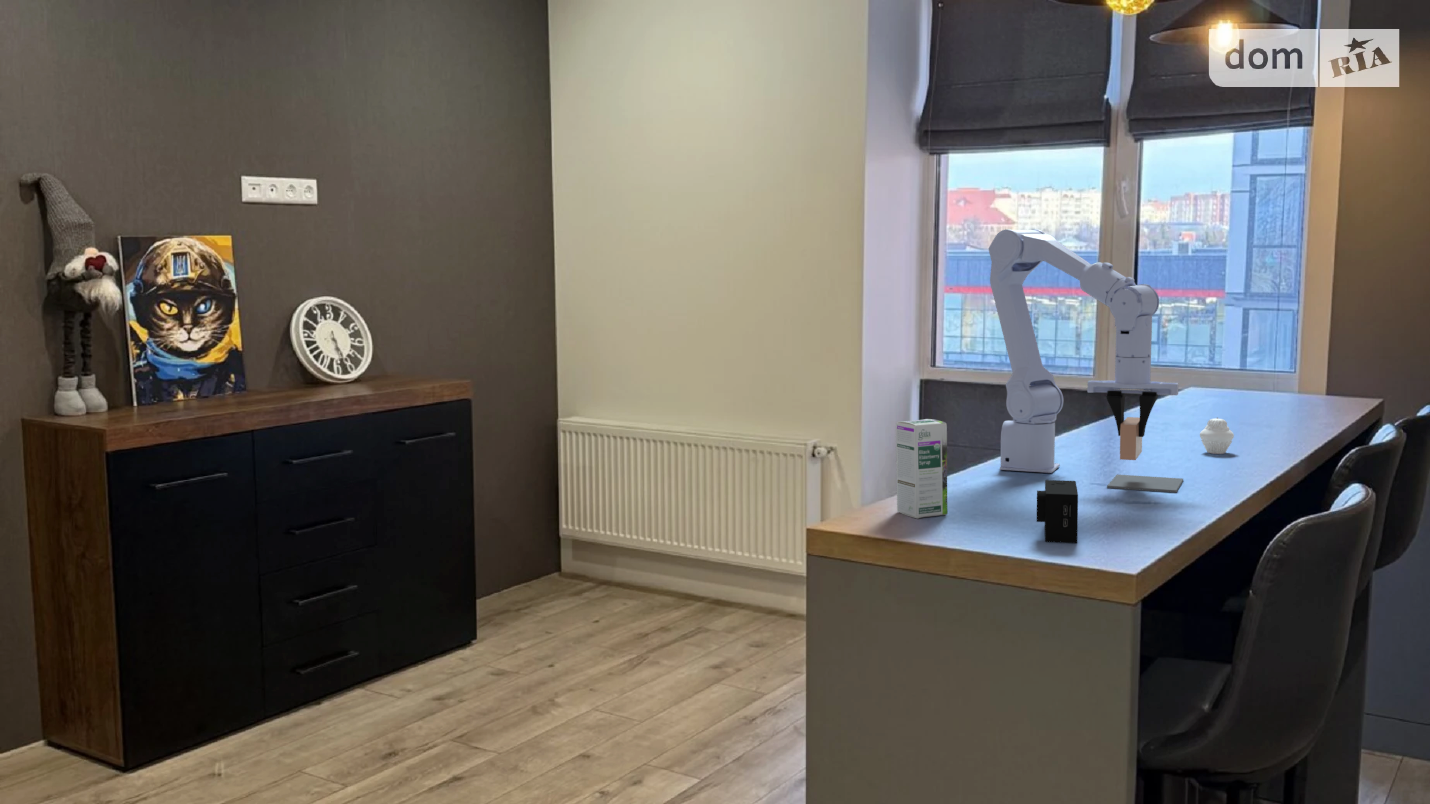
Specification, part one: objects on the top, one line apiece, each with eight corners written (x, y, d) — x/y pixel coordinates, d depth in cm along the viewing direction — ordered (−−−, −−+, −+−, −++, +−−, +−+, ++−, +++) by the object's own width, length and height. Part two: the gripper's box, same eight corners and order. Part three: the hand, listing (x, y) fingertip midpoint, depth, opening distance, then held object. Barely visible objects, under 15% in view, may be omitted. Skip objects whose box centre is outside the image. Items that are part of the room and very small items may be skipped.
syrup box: (916, 519, 180) (916, 424, 178) (895, 511, 185) (895, 420, 184) (948, 515, 182) (948, 421, 181) (926, 508, 188) (926, 417, 186)
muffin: (1238, 455, 230) (1239, 419, 229) (1206, 455, 230) (1207, 419, 229) (1225, 449, 236) (1226, 414, 235) (1194, 450, 236) (1195, 415, 235)
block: (1119, 459, 200) (1119, 424, 199) (1125, 450, 207) (1126, 417, 206) (1135, 460, 199) (1136, 424, 198) (1141, 451, 206) (1142, 417, 205)
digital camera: (1036, 525, 175) (1036, 478, 174) (1074, 527, 173) (1075, 479, 173) (1036, 542, 165) (1037, 492, 164) (1077, 543, 164) (1078, 494, 163)
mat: (1106, 488, 201) (1107, 485, 201) (1116, 476, 210) (1116, 474, 210) (1176, 492, 196) (1176, 490, 196) (1183, 480, 205) (1183, 478, 205)
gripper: (1084, 357, 201) (1083, 436, 203) (1176, 359, 195) (1174, 441, 196) (1091, 354, 207) (1090, 431, 209) (1180, 355, 201) (1178, 435, 203)
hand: (1131, 435), depth 203 cm, fingers closed on block, 3 cm apart
